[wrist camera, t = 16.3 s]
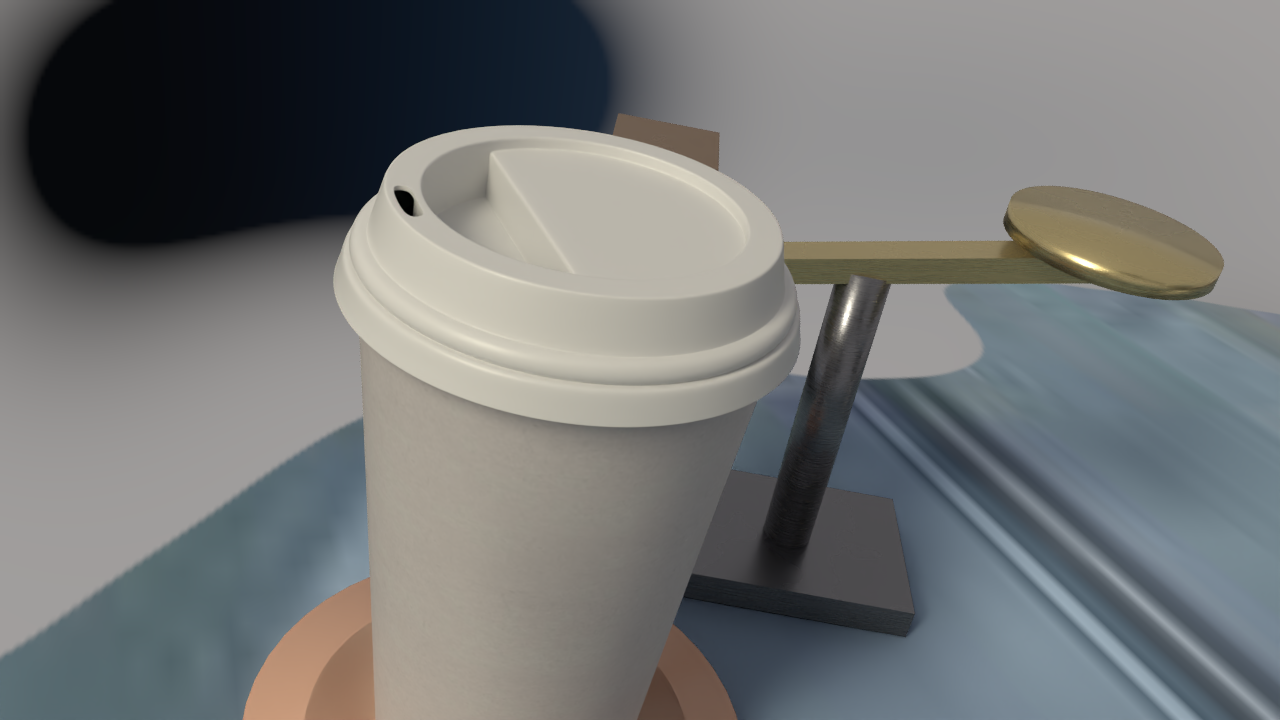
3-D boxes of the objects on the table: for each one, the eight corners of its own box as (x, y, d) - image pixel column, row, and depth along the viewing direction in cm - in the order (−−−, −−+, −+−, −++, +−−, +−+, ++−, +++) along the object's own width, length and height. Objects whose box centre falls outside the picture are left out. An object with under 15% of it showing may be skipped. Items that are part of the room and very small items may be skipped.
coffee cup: (357, 578, 35) (390, 84, 27) (678, 621, 35) (798, 152, 28) (266, 865, 26) (276, 270, 19) (687, 913, 27) (861, 361, 20)
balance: (1031, 547, 43) (1183, 205, 36) (1073, 666, 38) (1259, 293, 31) (519, 453, 42) (573, 88, 36) (489, 561, 37) (546, 158, 30)
